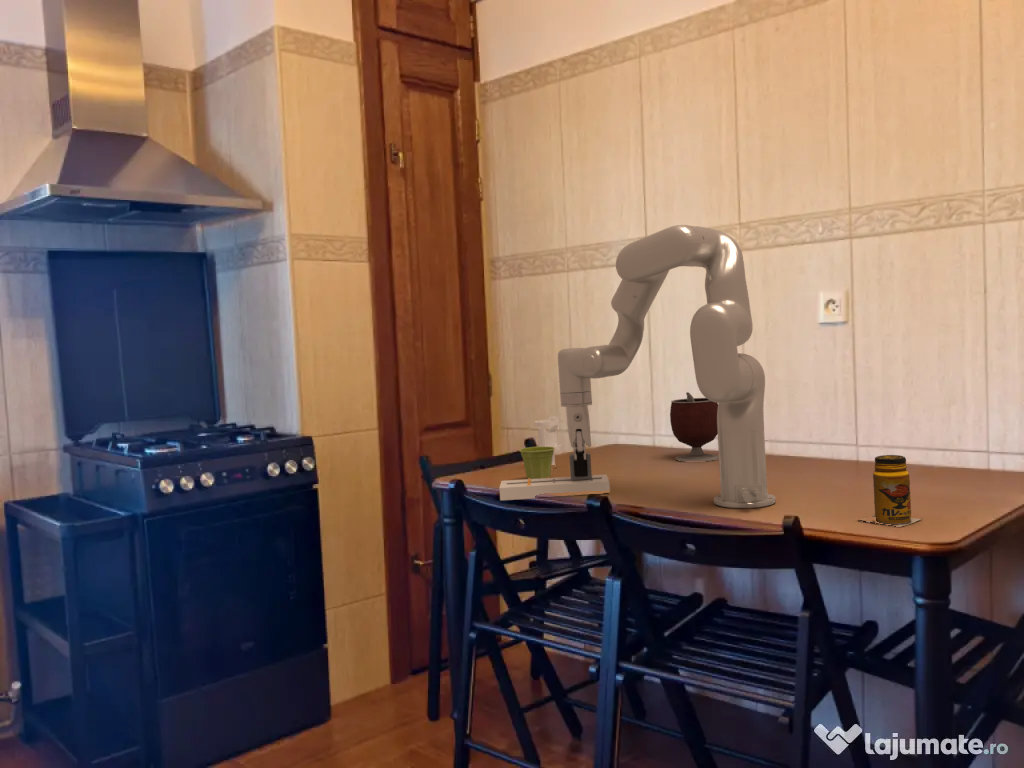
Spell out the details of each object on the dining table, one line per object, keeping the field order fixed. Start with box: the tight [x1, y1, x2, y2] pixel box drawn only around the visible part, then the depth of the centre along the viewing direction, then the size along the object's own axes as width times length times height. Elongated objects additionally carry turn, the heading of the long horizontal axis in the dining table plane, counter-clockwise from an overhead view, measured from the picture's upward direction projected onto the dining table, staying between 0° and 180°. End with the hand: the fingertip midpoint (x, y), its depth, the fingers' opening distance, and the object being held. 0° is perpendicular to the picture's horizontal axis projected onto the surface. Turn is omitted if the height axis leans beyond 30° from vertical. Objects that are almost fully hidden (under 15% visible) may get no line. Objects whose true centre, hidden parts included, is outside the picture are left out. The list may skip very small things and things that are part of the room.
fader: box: [568, 451, 593, 480], centre depth 204 cm, size 3×5×6 cm, turn 88°
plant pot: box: [518, 446, 555, 479], centre depth 224 cm, size 9×9×9 cm
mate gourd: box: [669, 392, 719, 462], centre depth 242 cm, size 16×14×20 cm
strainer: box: [534, 416, 562, 466], centre depth 244 cm, size 7×7×15 cm
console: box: [499, 473, 611, 501], centre depth 205 cm, size 10×26×3 cm, turn 88°
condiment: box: [862, 454, 922, 528], centre depth 155 cm, size 7×8×12 cm
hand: (580, 474), depth 205 cm, fingers closed on fader, 3 cm apart
